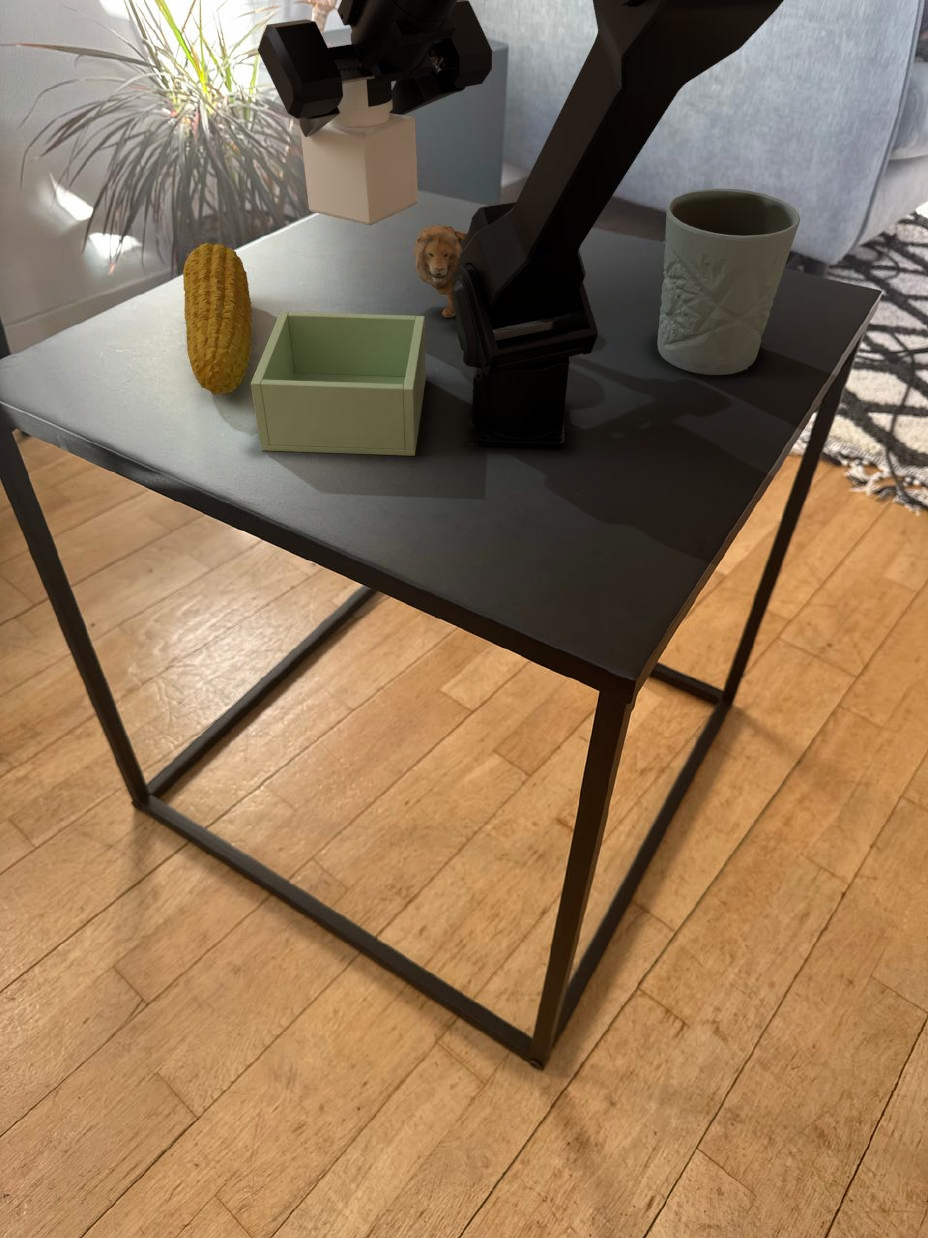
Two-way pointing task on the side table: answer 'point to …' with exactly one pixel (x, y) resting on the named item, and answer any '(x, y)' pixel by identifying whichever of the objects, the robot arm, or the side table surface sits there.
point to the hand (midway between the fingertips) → (347, 122)
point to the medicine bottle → (362, 158)
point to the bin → (341, 384)
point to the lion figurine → (439, 259)
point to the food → (217, 317)
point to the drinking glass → (721, 276)
